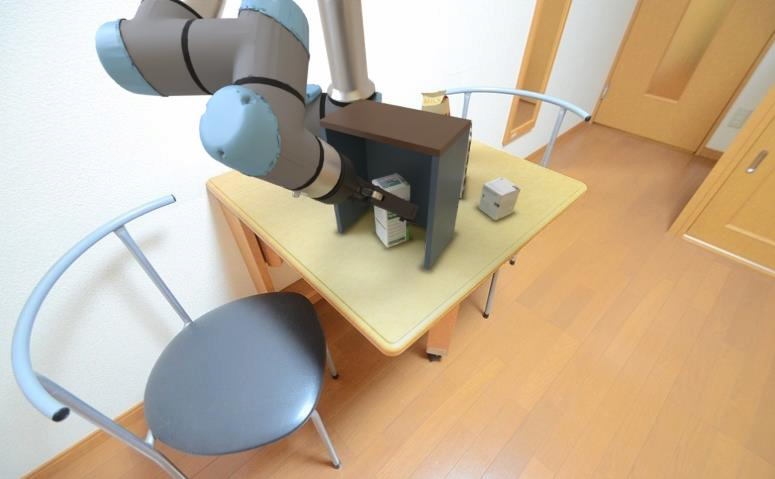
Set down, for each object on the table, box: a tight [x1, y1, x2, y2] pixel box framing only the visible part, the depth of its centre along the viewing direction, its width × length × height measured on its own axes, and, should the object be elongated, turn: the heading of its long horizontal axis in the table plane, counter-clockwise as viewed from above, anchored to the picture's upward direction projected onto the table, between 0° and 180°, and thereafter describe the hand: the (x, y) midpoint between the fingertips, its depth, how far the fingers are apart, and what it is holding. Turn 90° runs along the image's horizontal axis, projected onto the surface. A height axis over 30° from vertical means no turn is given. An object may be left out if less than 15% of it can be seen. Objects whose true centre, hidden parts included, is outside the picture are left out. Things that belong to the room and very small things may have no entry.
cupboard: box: [319, 99, 472, 271], centre depth 64 cm, size 23×13×26 cm, turn 58°
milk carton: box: [420, 89, 452, 116], centre depth 93 cm, size 9×9×20 cm
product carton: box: [478, 176, 522, 221], centre depth 75 cm, size 6×6×7 cm
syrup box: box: [372, 173, 411, 248], centre depth 67 cm, size 6×6×14 cm
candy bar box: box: [459, 119, 473, 199], centre depth 81 cm, size 11×5×16 cm, turn 168°
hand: (383, 205), depth 62 cm, fingers open, 13 cm apart
